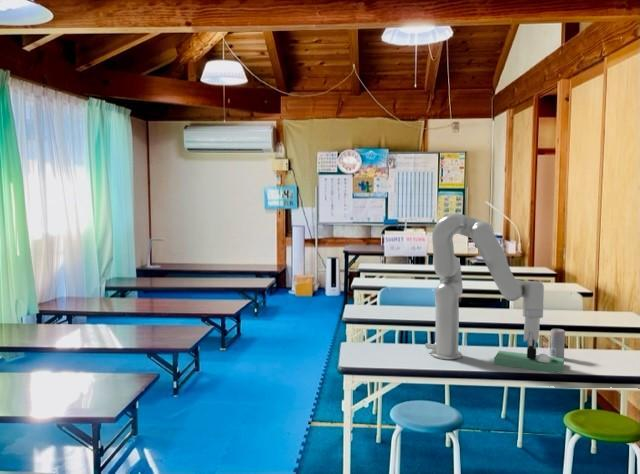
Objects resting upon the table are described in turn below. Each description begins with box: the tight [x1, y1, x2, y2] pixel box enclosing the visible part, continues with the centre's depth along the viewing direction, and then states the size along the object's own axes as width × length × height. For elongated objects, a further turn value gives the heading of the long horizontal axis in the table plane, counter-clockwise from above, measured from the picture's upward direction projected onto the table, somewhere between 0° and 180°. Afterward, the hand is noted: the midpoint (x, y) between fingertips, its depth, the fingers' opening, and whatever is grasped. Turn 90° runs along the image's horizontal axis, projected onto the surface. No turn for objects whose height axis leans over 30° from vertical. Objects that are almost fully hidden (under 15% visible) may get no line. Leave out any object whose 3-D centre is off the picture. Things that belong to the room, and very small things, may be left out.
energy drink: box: [549, 328, 566, 359], centre depth 228 cm, size 5×5×12 cm
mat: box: [493, 350, 565, 374], centre depth 220 cm, size 25×12×2 cm, turn 63°
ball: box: [537, 353, 550, 363], centre depth 217 cm, size 5×5×5 cm
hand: (531, 357), depth 218 cm, fingers closed
